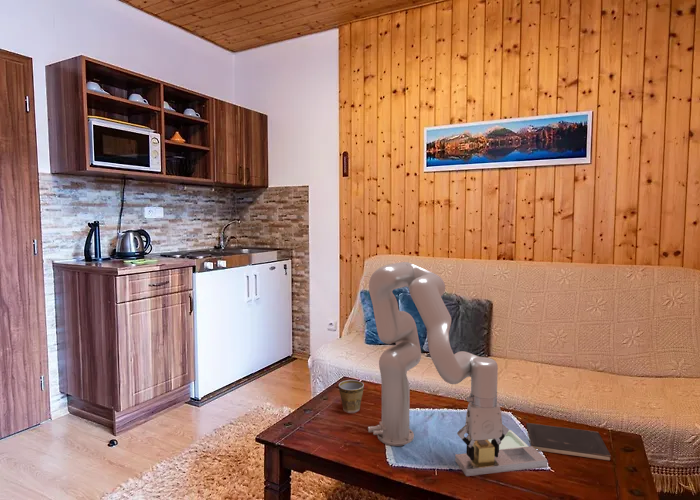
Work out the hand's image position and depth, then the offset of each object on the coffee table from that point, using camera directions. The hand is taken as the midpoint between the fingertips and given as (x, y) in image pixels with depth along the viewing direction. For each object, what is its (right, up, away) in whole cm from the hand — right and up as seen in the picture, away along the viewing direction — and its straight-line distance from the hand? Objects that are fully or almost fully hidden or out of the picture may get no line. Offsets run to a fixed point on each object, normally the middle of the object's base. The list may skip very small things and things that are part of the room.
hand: (482, 455), depth 130 cm
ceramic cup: (-40, -1, +41) cm, 57 cm away
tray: (+11, -2, +12) cm, 17 cm away
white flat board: (+6, -3, +1) cm, 7 cm away
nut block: (0, -3, 0) cm, 3 cm away
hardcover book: (+32, -3, +14) cm, 35 cm away
